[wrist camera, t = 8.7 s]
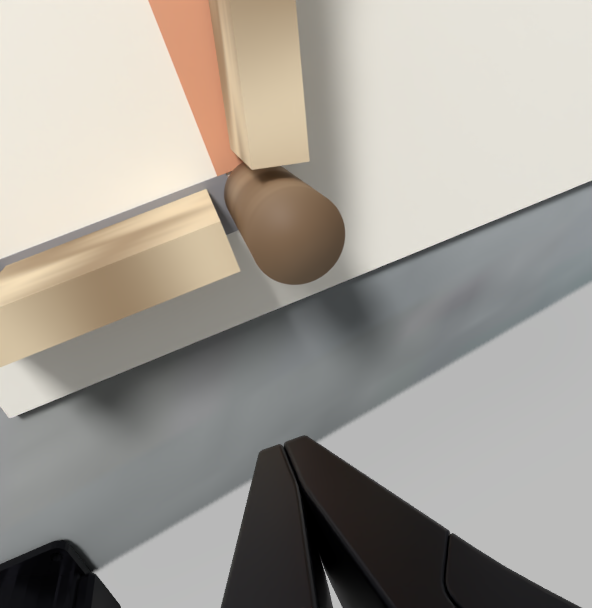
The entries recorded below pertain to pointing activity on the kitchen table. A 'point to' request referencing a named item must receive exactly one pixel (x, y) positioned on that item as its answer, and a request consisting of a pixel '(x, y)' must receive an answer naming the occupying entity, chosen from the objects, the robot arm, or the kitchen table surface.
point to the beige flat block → (111, 275)
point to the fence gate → (271, 142)
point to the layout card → (317, 173)
